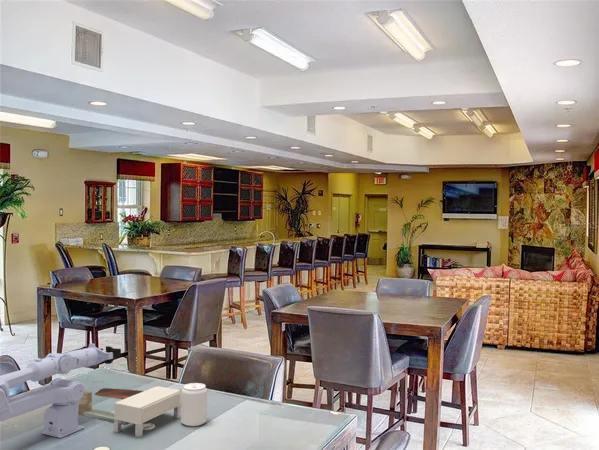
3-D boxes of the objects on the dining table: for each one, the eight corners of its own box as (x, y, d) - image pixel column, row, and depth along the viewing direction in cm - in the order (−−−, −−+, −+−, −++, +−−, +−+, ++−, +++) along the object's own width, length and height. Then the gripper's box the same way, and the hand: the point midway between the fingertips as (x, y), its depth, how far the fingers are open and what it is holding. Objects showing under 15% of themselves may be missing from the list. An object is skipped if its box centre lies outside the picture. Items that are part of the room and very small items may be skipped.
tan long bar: (125, 425, 177) (125, 403, 177) (77, 414, 186) (77, 393, 186) (133, 421, 181) (134, 399, 181) (86, 410, 190) (86, 390, 190)
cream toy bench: (140, 438, 167) (140, 408, 167) (113, 431, 171) (114, 402, 171) (181, 417, 185) (181, 390, 185) (156, 412, 189) (157, 386, 189)
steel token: (148, 431, 173) (148, 429, 173) (137, 429, 175) (137, 426, 175) (157, 427, 177) (157, 424, 177) (147, 424, 179) (147, 422, 179)
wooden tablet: (88, 392, 207) (105, 382, 216) (89, 398, 207) (105, 387, 216) (151, 400, 199) (165, 389, 209) (151, 406, 199) (166, 395, 209)
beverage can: (182, 428, 175) (182, 390, 175) (180, 419, 183) (181, 383, 183) (207, 426, 177) (208, 388, 177) (205, 417, 185) (205, 381, 185)
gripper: (98, 345, 175) (127, 340, 187) (64, 345, 180) (94, 340, 193) (99, 368, 174) (128, 361, 187) (64, 367, 180) (95, 360, 192)
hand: (111, 351), depth 190 cm, fingers open, 7 cm apart
